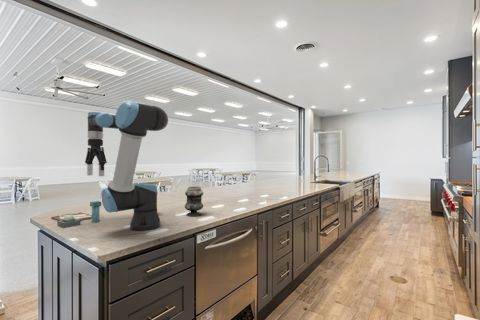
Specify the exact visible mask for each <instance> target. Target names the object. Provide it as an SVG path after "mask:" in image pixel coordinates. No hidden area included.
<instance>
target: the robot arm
mask: <svg viewBox="0 0 480 320" xmlns="http://www.w3.org/2000/svg"><path fill="white" fill-rule="evenodd" d="M168 123H169V117H168V114H167V113H166V111H165V110H164V109H163V108H161V107H159V106H155V105H149V104H144V103H139V102H136V101H134V102H133V101H123V102H122V103H120V105H119V106H118V108H117V110H116V112H115V114H110V113H109V112H100V111H88V113H87V146H89V147H87V151H86V157H85V161H84V163H85V165H86V173H87V174H86V176H93V173H94V170H93V167H94V164H93V161H94V159H95V157H96V158H97V161H98V164H97V165H98V177H105V165H106V164H107V163H108V162H107V159H106V154H105V149H104V147H103V146H104V140H103V138H104V129H105V128H107V129H116V130H118V131H119V133H120V134H121V136H120V143H119V147H118V153H117V157H116V161H115V168H114V172H113V177H112V180H111V181H109V182H108V185H107V187H105V188H103V189H102V190H101V193H100V196H101V197H100V198H101V204H102V206H103V208H104V210H105V211H106V212H107V213H118V212H122V211H123V212H124V211H129V210H133V214H132V217H131V221H130V223H129V228H130V230H133V231H150V230H153V229H154V230H155V229H158V228H159V227H160V226H161V220H160V216H159V213H158V193H157V192H158V186H157V185H156V184H152V183H139V182H134V175H135V171H136V169H137V164H138V158H139V153H140V149H141V145H142V140H143V139H144V138H145V137H147V134H148V131H151V132H158V131H162V130H164V129H165V128H166V127H167V126H168ZM133 182H134V183H133Z"/></svg>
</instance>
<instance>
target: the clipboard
mask: <svg viewBox="0 0 480 320" xmlns="http://www.w3.org/2000/svg"><path fill="white" fill-rule="evenodd" d="M66 215H74V218H76V219H79V220H80V222H81V221H87V220H92V214H88V213H85V212H72V213H66V214H60V215H56V216H51V219H52V220H54V221H60V220H64V216H66Z"/></svg>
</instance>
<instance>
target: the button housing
mask: <svg viewBox="0 0 480 320" xmlns="http://www.w3.org/2000/svg"><path fill="white" fill-rule="evenodd" d="M56 225H57V227H60V228H63V229H65V228H70V227H74V226H76V227H77V226H79V225H81V221H80V220H79V219H76V218H74V221H70V222H64V220H60V221H57V222H56Z"/></svg>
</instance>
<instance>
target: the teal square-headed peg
mask: <svg viewBox="0 0 480 320" xmlns="http://www.w3.org/2000/svg"><path fill="white" fill-rule="evenodd" d="M101 206H102V201H100V200H95V201H89V207H91V215H92V219H91V222H92V223H99V222H100V207H101Z"/></svg>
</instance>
